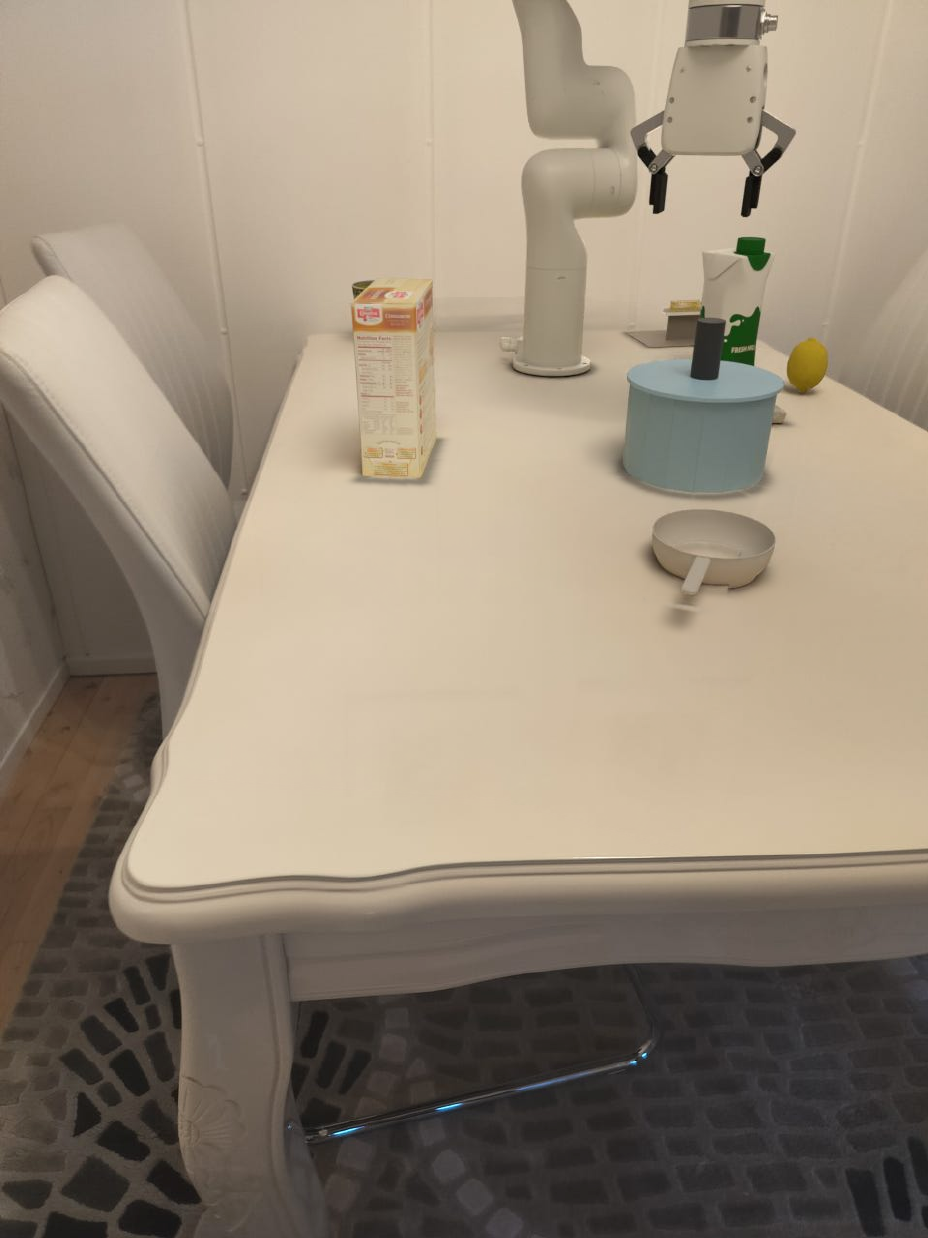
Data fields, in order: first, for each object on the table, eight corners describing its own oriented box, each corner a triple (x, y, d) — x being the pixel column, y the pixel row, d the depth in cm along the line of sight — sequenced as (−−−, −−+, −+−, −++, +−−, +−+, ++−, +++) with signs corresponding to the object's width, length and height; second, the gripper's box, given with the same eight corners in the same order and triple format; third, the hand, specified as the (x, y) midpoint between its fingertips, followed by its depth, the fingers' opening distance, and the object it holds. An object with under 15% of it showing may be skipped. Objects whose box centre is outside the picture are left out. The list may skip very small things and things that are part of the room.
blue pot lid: (609, 398, 94) (614, 329, 90) (644, 362, 107) (651, 301, 104) (773, 416, 88) (785, 343, 85) (789, 376, 101) (800, 311, 98)
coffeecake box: (383, 438, 113) (375, 276, 104) (438, 440, 113) (435, 277, 103) (359, 480, 100) (347, 300, 91) (421, 482, 100) (416, 301, 90)
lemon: (824, 398, 129) (835, 342, 125) (784, 396, 130) (794, 340, 126) (819, 388, 133) (829, 334, 129) (780, 386, 134) (790, 332, 130)
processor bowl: (608, 485, 99) (616, 391, 94) (640, 443, 111) (648, 358, 106) (752, 505, 94) (768, 408, 88) (768, 459, 106) (784, 371, 101)
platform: (627, 333, 167) (630, 296, 164) (716, 329, 170) (721, 293, 167) (649, 347, 157) (653, 308, 154) (744, 343, 160) (750, 305, 156)
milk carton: (723, 381, 137) (743, 242, 127) (681, 369, 144) (697, 235, 134) (762, 373, 141) (784, 237, 131) (719, 362, 148) (737, 231, 138)
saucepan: (775, 553, 84) (782, 515, 82) (751, 645, 69) (759, 602, 67) (661, 535, 87) (666, 499, 85) (616, 619, 73) (620, 577, 71)
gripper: (815, 30, 90) (785, 214, 99) (647, 35, 96) (632, 208, 105) (809, 24, 84) (778, 220, 93) (631, 30, 90) (617, 214, 99)
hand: (701, 214), depth 99 cm, fingers open, 9 cm apart
